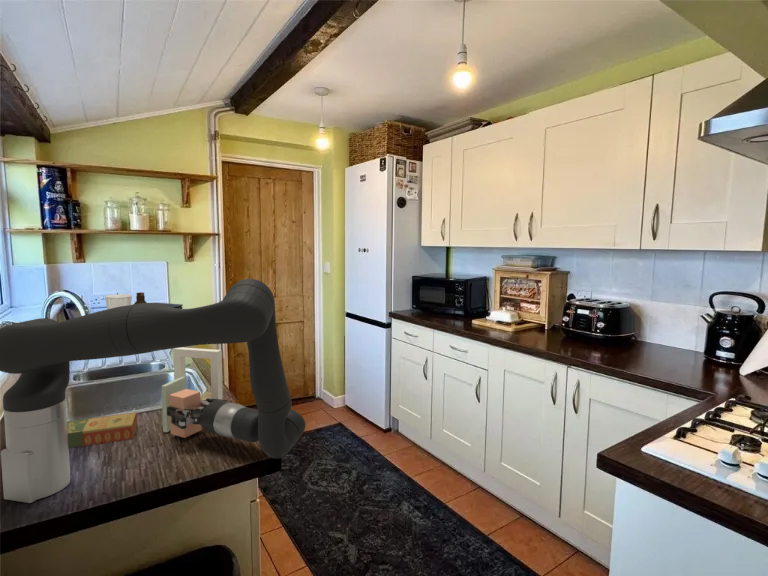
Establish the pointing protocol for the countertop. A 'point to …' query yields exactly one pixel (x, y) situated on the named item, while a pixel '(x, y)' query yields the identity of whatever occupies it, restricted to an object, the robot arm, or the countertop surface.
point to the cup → (118, 300)
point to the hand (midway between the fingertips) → (178, 406)
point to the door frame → (201, 353)
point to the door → (166, 391)
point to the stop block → (182, 402)
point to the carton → (101, 429)
